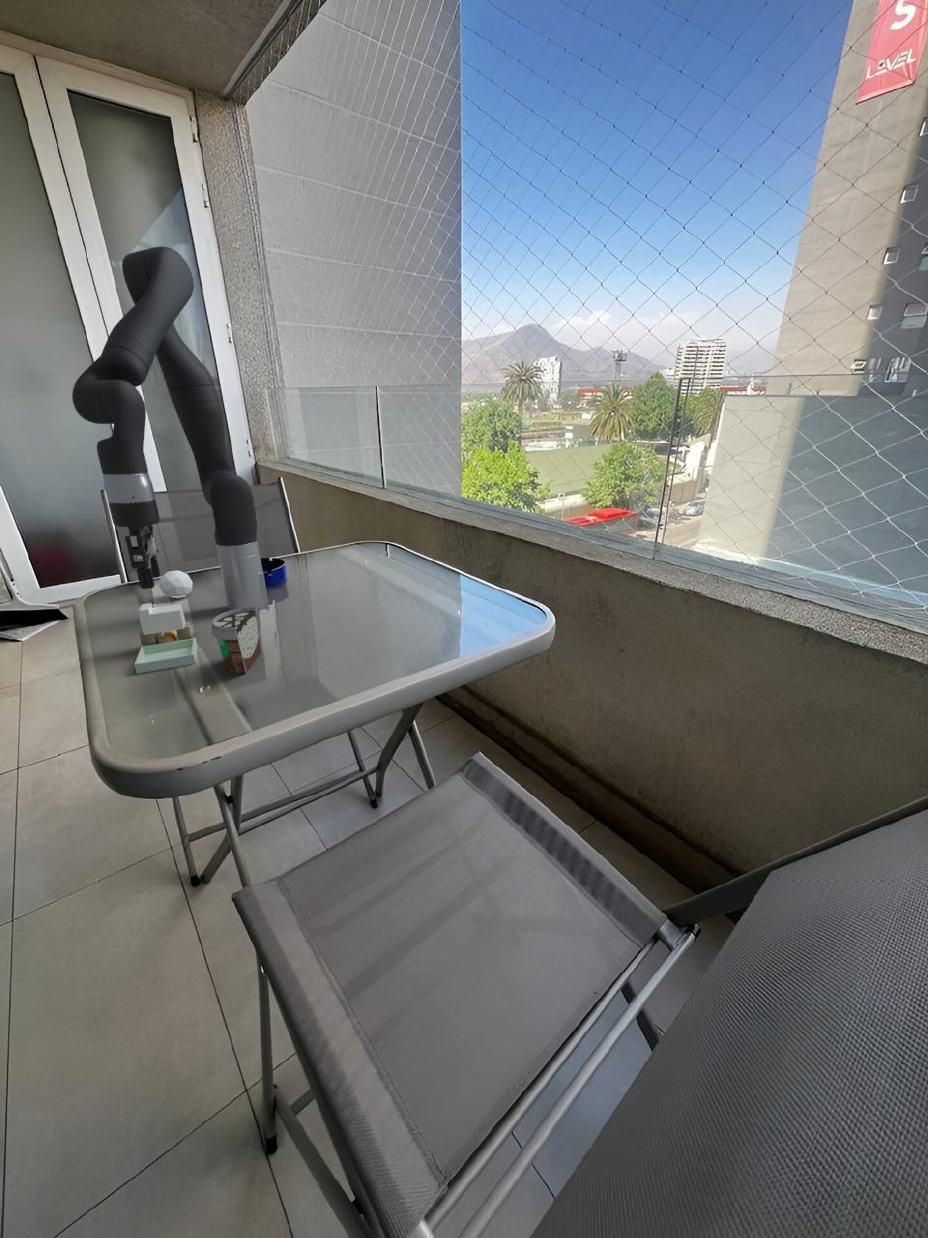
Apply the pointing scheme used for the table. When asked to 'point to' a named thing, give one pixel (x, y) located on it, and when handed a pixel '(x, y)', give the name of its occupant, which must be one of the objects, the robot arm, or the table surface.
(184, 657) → the tray
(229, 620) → the food container
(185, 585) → the ball
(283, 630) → the table surface
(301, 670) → the table surface
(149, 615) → the white notched block
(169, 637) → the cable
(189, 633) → the tan blocks
